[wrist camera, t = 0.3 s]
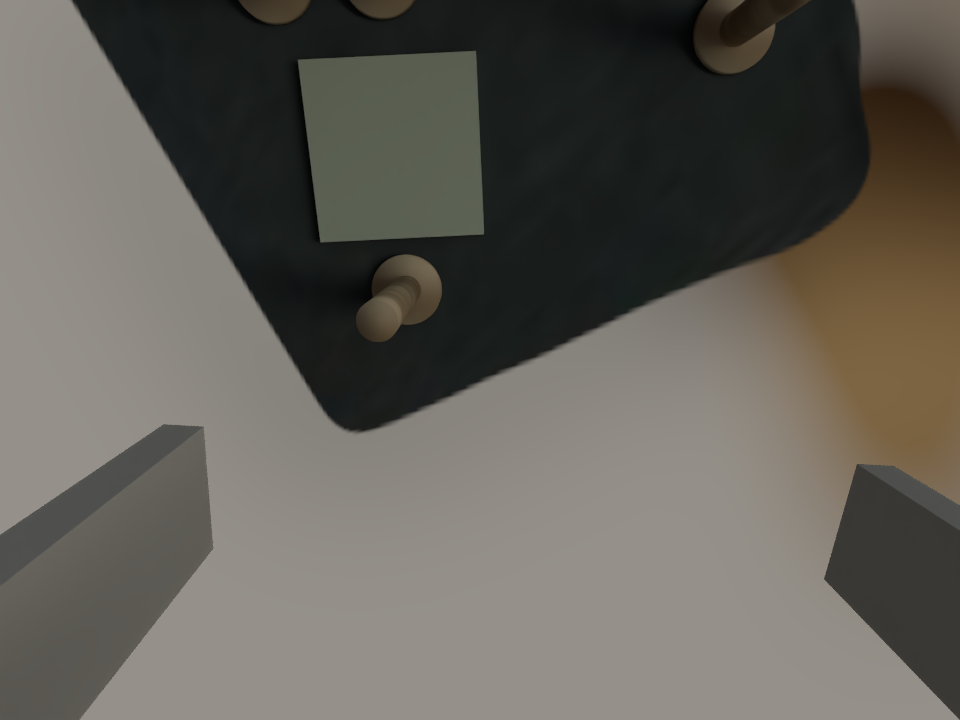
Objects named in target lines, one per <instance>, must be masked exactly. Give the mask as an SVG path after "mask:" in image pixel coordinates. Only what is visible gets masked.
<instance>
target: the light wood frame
mask: <svg viewBox="0 0 960 720" xmlns="http://www.w3.org/2000/svg"><path fill="white" fill-rule="evenodd" d="M311 1H312V0H239V2H240V3H241V4H242V6H243V7H244V8H245V9H246V10H247V11H248V12H249V13H250V14H251V15H253V16H254V17H255V18H256V19H258V20H260V21H262V22H264V23H266V24H269V25H275V26H281V25H287V24H290V23H292V22H295V21H296V20H298V19H299V18H300V17H301V16H302V15H303V14H304V13H305V12H306V11H307V9H308V7H309V5H310V3H311ZM350 1H351V3H352V4H353V5H354V7H355V8H356V9H357V10H358V11H360V12H361V13H362V14H364V15H365V16H367V17H369V18H372V19H376V20H391V19H395V18H397V17H399V16H401V15H403V14H404V13H405V12H407V11H408V10H409V9H410V7H411V6H412V5H413V3H414V2H415V0H350Z"/></svg>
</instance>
